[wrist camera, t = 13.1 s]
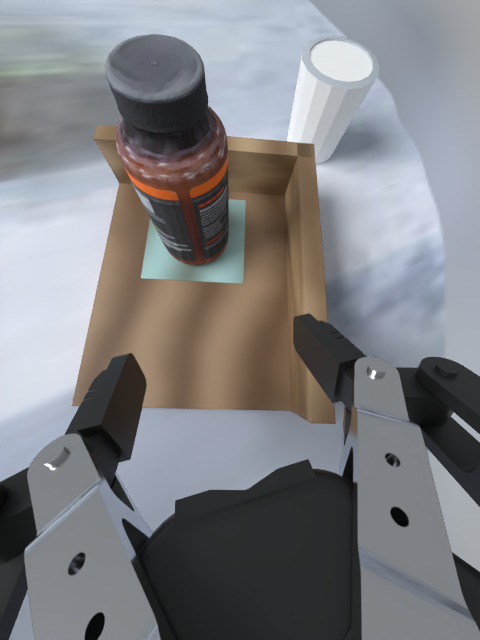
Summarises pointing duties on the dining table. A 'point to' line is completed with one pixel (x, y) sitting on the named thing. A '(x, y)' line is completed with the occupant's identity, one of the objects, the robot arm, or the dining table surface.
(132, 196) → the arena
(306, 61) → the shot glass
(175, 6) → the dining table surface
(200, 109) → the supplement bottle
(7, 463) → the dining table surface
